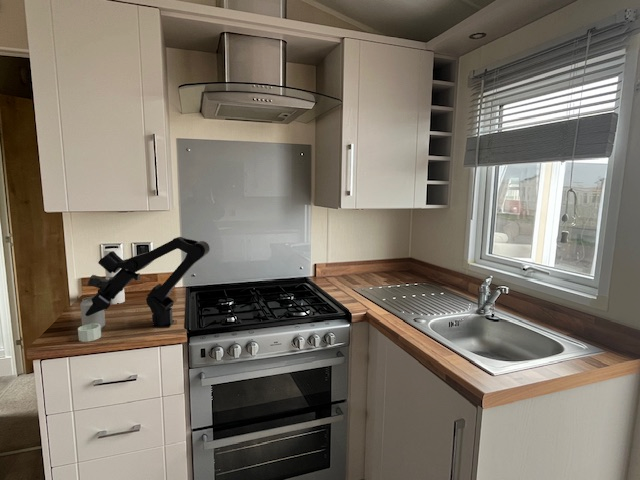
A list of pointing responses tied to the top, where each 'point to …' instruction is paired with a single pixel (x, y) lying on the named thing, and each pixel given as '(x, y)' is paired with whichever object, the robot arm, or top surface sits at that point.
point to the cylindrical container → (121, 295)
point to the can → (94, 318)
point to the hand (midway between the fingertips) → (88, 312)
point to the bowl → (89, 332)
